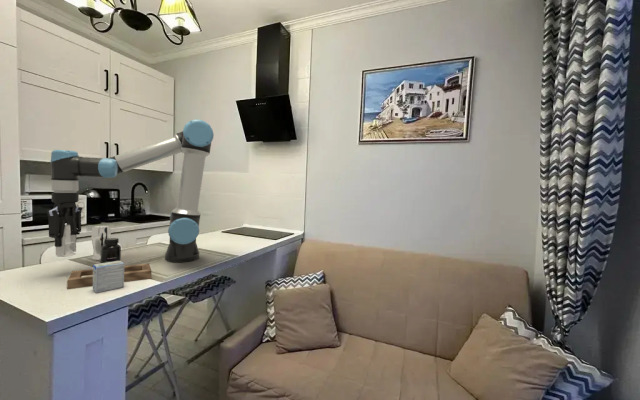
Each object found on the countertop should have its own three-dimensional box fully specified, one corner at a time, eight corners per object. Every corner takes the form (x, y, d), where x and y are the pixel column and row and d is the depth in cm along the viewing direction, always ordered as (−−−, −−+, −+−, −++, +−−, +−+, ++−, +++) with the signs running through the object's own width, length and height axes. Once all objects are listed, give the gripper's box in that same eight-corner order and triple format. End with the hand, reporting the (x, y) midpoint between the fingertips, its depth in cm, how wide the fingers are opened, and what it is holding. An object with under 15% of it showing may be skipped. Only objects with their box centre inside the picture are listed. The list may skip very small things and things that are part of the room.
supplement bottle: (109, 270, 113) (110, 241, 113) (95, 268, 115) (96, 239, 114) (124, 265, 120) (125, 238, 120) (111, 264, 121) (112, 236, 121)
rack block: (148, 270, 116) (149, 262, 116) (151, 278, 107) (151, 269, 107) (72, 279, 102) (72, 270, 102) (67, 289, 93) (67, 279, 93)
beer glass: (113, 258, 129) (113, 226, 128) (94, 261, 123) (95, 228, 123) (106, 256, 133) (107, 224, 132) (88, 258, 127) (88, 226, 126)
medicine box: (120, 284, 100) (120, 260, 99) (124, 287, 97) (124, 262, 96) (92, 289, 93) (92, 264, 93) (95, 293, 91) (96, 267, 90)
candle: (67, 253, 109) (67, 222, 108) (79, 254, 108) (78, 223, 107) (52, 256, 104) (51, 224, 103) (64, 257, 103) (64, 225, 102)
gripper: (72, 190, 113) (73, 247, 114) (32, 192, 95) (34, 259, 97) (92, 191, 114) (93, 248, 115) (56, 193, 96) (57, 259, 98)
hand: (66, 253), depth 106 cm, fingers closed on candle, 4 cm apart
